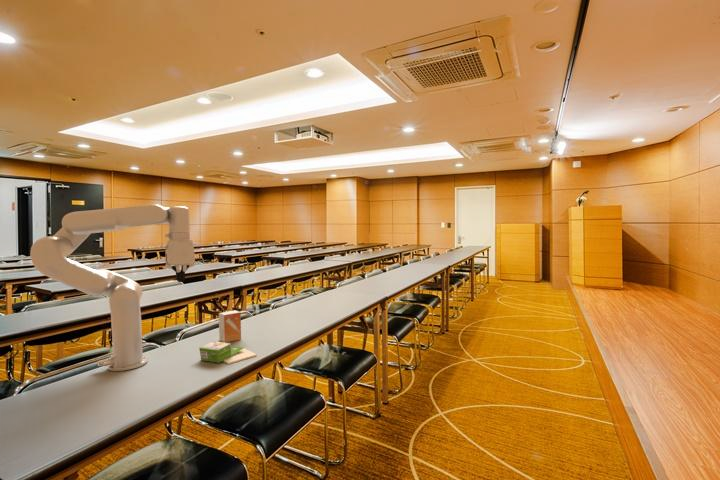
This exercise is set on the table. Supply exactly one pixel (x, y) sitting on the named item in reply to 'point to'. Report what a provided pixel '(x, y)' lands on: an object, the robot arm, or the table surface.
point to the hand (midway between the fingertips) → (180, 281)
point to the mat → (239, 356)
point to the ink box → (217, 351)
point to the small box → (229, 326)
